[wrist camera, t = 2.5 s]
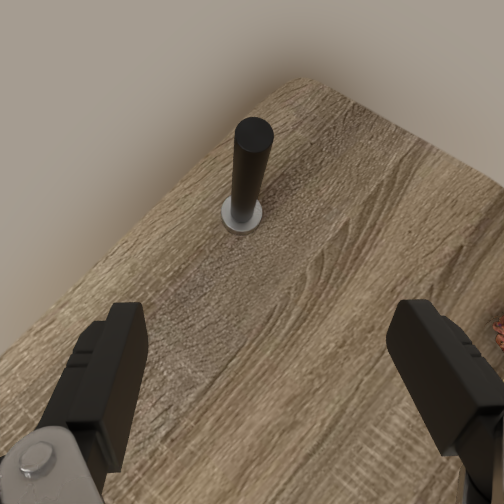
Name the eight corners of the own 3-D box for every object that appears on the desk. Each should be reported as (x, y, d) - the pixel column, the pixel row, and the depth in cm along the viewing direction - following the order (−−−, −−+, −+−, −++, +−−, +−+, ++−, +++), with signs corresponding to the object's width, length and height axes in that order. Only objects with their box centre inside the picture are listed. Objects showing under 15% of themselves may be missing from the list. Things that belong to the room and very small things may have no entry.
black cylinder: (213, 223, 30) (205, 144, 17) (233, 191, 31) (240, 90, 17) (248, 243, 30) (268, 179, 16) (267, 210, 31) (301, 123, 17)
